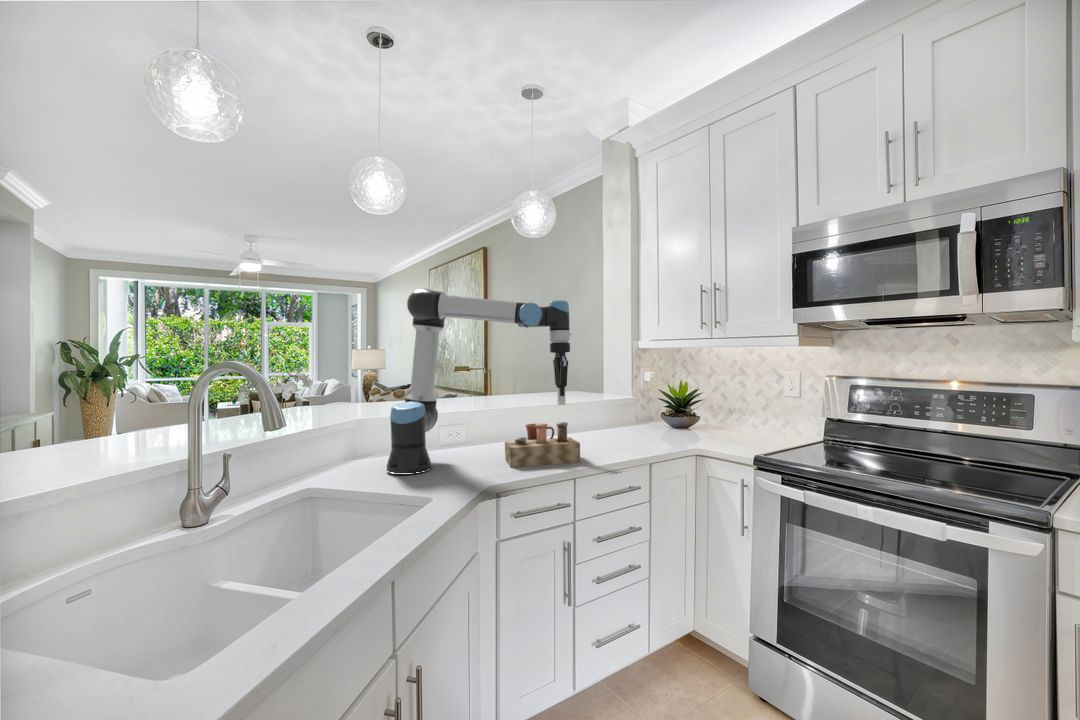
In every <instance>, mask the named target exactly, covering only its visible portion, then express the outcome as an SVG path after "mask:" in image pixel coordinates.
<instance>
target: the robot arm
mask: <svg viewBox="0 0 1080 720" xmlns="http://www.w3.org/2000/svg"><path fill="white" fill-rule="evenodd" d="M406 301H407V302H406V307H407V311H408V313H409V314H410V315H411V316H412V317H413V318H412V327H413V328H414V330H415V338H414V349H413V357H412V360H413V361H412V370H411V380H410V390H409V393H408V395H406V396H405V399H404V401H403V402H401V403H396V404H394V405H392V406H391V409H390V415H389V417H390V418H389V419H390V437H391V438H390V443H391V450H390V453H389V457H388V459H387V462H386V463H387V464H386V472H387V471H389V472H394V473H416V472H422V471H426V470H428V469H430V468H431V469H432V461H431V458H430V456H429V452H428V450H427V447H426V443H427V442H426V441H427V440H426V433H427V432H429V431H431V429H433V428H434V427H435V425H436V423H437V421H438V418H439V413H438V412H439V411H438V410H437V398H436V397H435V395H434V390H435V378H436V371H437V370H436V368H437V360H438V359H437V358H438V351H439V350H438V348H439V347H438V346H439V337H440V332H441V331H443V330H444V329H445V319H446V318H453V319H466V320H473V321H486V322H487V321H488V322H497V323H507V324H516V325H518V327H519V328H541V327H543V328H544V327H547V328H548V327H549V342H550V343H549V352H550V353H551V354H552V353H553V354H554V353H555V355H554V358H553V360H552V364H553V371H554V374H553V375H554V384H555V386H556V393H557V394H556V395H557V396H556V397H557V399H556V402H557V406H565V405H566V387H567V385H568V368H569V367H568V366H569V360H567V359H568V358H567V355H566V353H570V352H571V343H570V342H569V341H570V338H571V337H570V336H571V335H572V334H571V332H570V305H569V302H568V301H566V300H558V299H557V300H551V301H549V302H548V306H539V305H538V304H536V303H535V302H530V301H529V302H517V301H511V300H499V299H487V298H479V297H478V298H477V297H467V296H458V295H449V294H448V295H447V294H446V292H444V291H439V290H433V289H429V288H418V289H416V290H414V291H412V292H411V293H410V295H409V296H408V299H407V300H406ZM431 469H430V470H431ZM426 472H427V471H426Z"/></svg>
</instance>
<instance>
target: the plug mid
mask: <svg viewBox="0 0 1080 720" xmlns="http://www.w3.org/2000/svg"><path fill="white" fill-rule="evenodd" d="M535 424H536V427H537V444H543V443H547V439H548V438H547V430H546V427H548V423H546V422H545V423H542V422H541V423H535Z"/></svg>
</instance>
